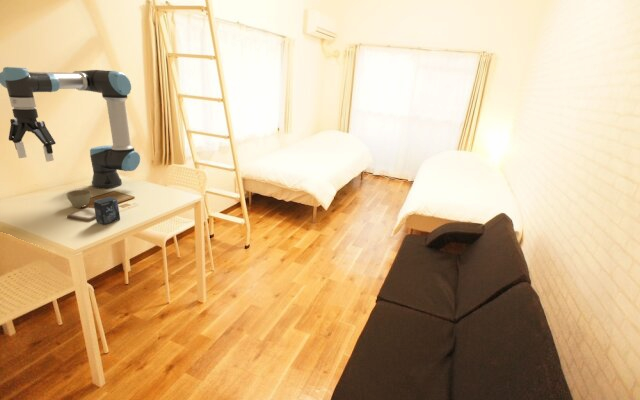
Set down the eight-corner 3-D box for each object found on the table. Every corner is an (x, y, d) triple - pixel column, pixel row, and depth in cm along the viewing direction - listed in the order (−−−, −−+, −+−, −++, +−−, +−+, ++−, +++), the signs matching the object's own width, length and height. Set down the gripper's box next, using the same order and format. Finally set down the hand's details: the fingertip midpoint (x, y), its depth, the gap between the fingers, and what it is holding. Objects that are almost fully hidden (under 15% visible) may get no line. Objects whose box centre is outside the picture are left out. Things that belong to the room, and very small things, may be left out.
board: (88, 208, 165) (88, 206, 165) (110, 211, 163) (109, 209, 163) (67, 218, 154) (66, 215, 153) (90, 221, 152) (89, 218, 152)
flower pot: (81, 210, 162) (78, 197, 160) (64, 208, 164) (61, 194, 161) (98, 204, 172) (95, 190, 169) (81, 201, 173) (78, 188, 171)
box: (103, 225, 149) (100, 203, 146) (96, 222, 152) (92, 200, 148) (120, 219, 156) (117, 198, 152) (113, 216, 158) (110, 196, 155)
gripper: (-12, 106, 133) (2, 158, 140) (41, 111, 129) (53, 164, 137) (7, 105, 140) (20, 154, 147) (59, 109, 136) (69, 160, 144)
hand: (36, 159), depth 142 cm, fingers open, 13 cm apart
